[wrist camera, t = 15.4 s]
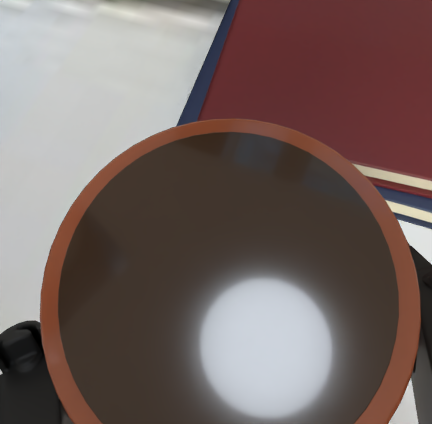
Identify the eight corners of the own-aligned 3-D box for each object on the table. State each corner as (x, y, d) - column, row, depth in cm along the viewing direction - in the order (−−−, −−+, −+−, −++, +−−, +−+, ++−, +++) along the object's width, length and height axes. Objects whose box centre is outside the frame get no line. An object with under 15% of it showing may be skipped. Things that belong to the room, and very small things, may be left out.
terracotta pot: (126, 364, 17) (-38, 408, 7) (187, 209, 19) (125, 81, 9) (295, 433, 15) (380, 608, 6) (339, 256, 17) (455, 163, 8)
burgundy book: (199, 145, 22) (194, 126, 20) (256, -22, 26) (257, -53, 24) (560, 228, 19) (599, 215, 17) (562, 23, 23) (594, -8, 21)
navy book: (178, 157, 25) (171, 138, 22) (245, -4, 29) (245, -35, 26) (524, 257, 21) (561, 247, 18) (544, 56, 25) (577, 26, 23)
